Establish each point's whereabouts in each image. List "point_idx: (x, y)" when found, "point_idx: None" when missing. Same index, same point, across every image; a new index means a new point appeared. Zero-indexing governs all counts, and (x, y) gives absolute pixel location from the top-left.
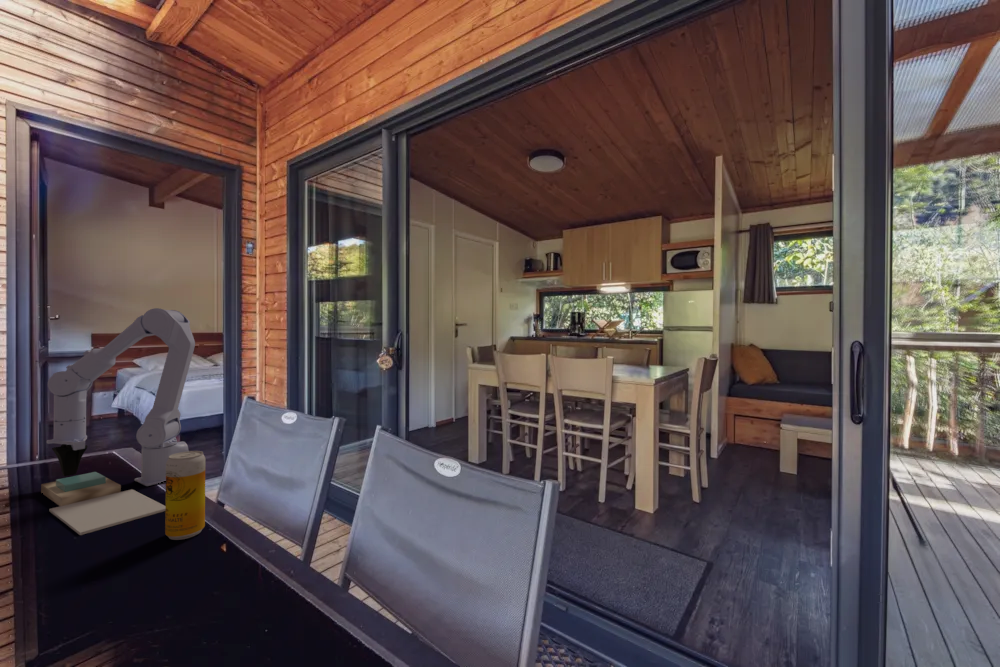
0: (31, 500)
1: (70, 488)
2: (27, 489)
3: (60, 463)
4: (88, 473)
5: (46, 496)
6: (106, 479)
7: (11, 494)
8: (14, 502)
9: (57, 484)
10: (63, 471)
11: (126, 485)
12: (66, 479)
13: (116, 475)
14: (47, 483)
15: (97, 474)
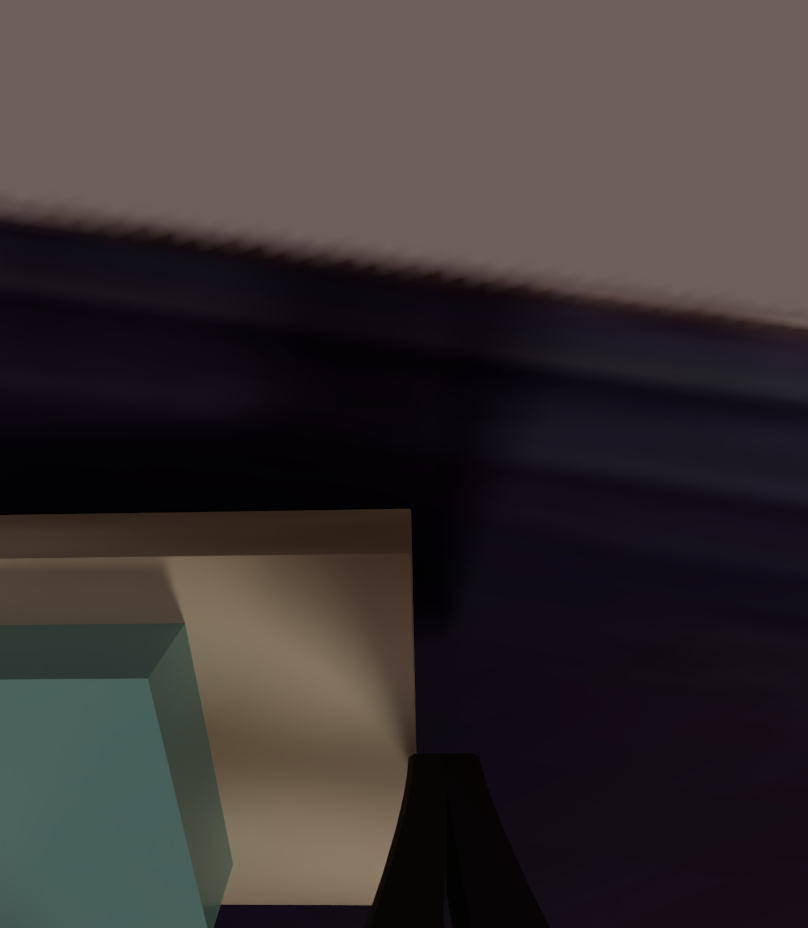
0: (184, 405)
1: None
2: (684, 454)
3: (480, 919)
4: (180, 896)
5: (218, 512)
6: None
7: (625, 317)
8: (238, 285)
9: (103, 644)
10: (405, 804)
11: None
12: (64, 740)
13: None
14: (390, 597)
15: (66, 924)
